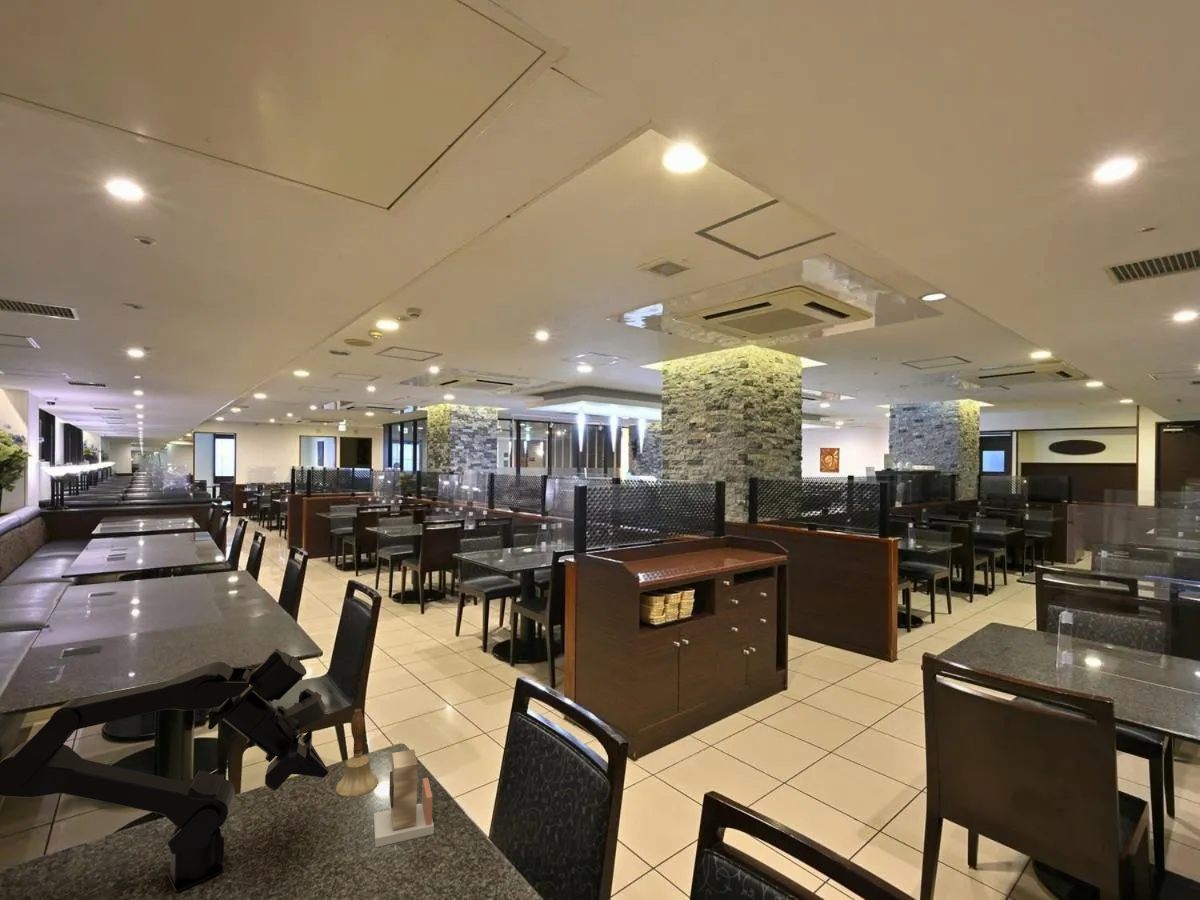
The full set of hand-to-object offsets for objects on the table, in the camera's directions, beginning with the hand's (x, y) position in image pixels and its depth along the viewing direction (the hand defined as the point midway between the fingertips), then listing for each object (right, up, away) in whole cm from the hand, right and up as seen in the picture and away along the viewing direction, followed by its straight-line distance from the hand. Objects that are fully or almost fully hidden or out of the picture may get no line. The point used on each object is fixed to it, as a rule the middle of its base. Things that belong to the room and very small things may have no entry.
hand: (326, 774), depth 103 cm
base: (+12, -13, +5) cm, 18 cm away
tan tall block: (+12, -11, +5) cm, 17 cm away
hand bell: (-2, -13, +18) cm, 23 cm away
